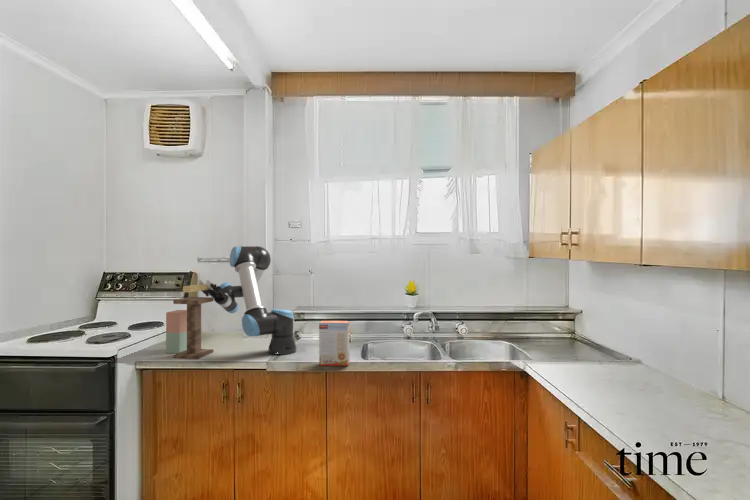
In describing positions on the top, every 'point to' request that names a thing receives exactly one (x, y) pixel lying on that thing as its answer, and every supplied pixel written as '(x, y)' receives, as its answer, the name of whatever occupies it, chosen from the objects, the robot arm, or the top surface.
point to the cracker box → (334, 343)
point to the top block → (176, 321)
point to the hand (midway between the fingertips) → (202, 282)
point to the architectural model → (350, 335)
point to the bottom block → (176, 342)
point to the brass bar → (195, 288)
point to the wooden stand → (193, 327)
